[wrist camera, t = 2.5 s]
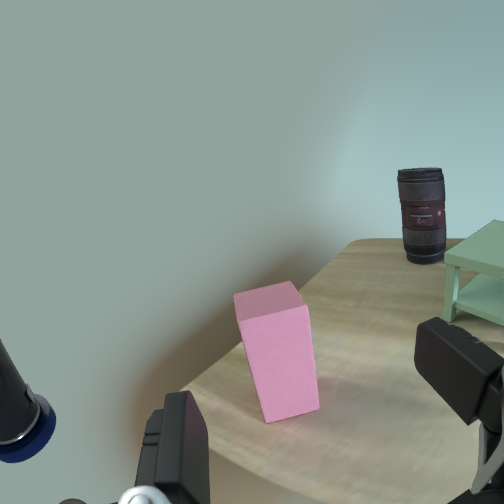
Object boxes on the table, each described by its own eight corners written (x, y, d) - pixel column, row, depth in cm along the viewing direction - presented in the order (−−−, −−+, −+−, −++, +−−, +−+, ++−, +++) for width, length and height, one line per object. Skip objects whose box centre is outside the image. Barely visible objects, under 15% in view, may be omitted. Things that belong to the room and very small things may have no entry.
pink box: (265, 424, 21) (237, 321, 18) (258, 389, 25) (232, 293, 22) (319, 409, 21) (307, 304, 18) (305, 377, 25) (290, 280, 22)
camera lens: (455, 257, 40) (452, 167, 36) (423, 270, 40) (417, 171, 35) (426, 246, 48) (420, 165, 44) (394, 256, 47) (386, 170, 43)
